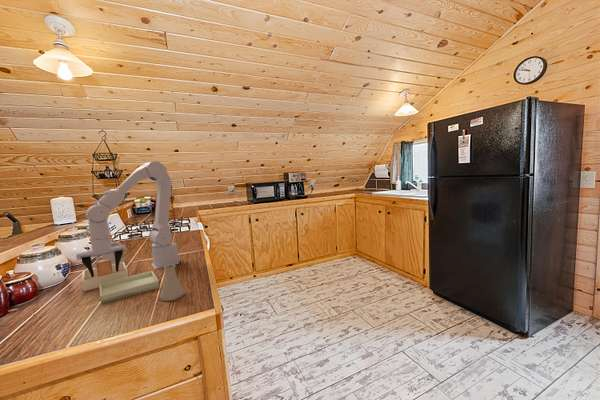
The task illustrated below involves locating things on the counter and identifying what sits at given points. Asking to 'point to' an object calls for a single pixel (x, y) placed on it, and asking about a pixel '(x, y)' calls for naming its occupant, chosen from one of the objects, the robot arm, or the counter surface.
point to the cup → (109, 255)
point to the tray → (127, 286)
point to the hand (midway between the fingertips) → (105, 273)
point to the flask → (171, 285)
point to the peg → (104, 268)
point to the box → (102, 277)
